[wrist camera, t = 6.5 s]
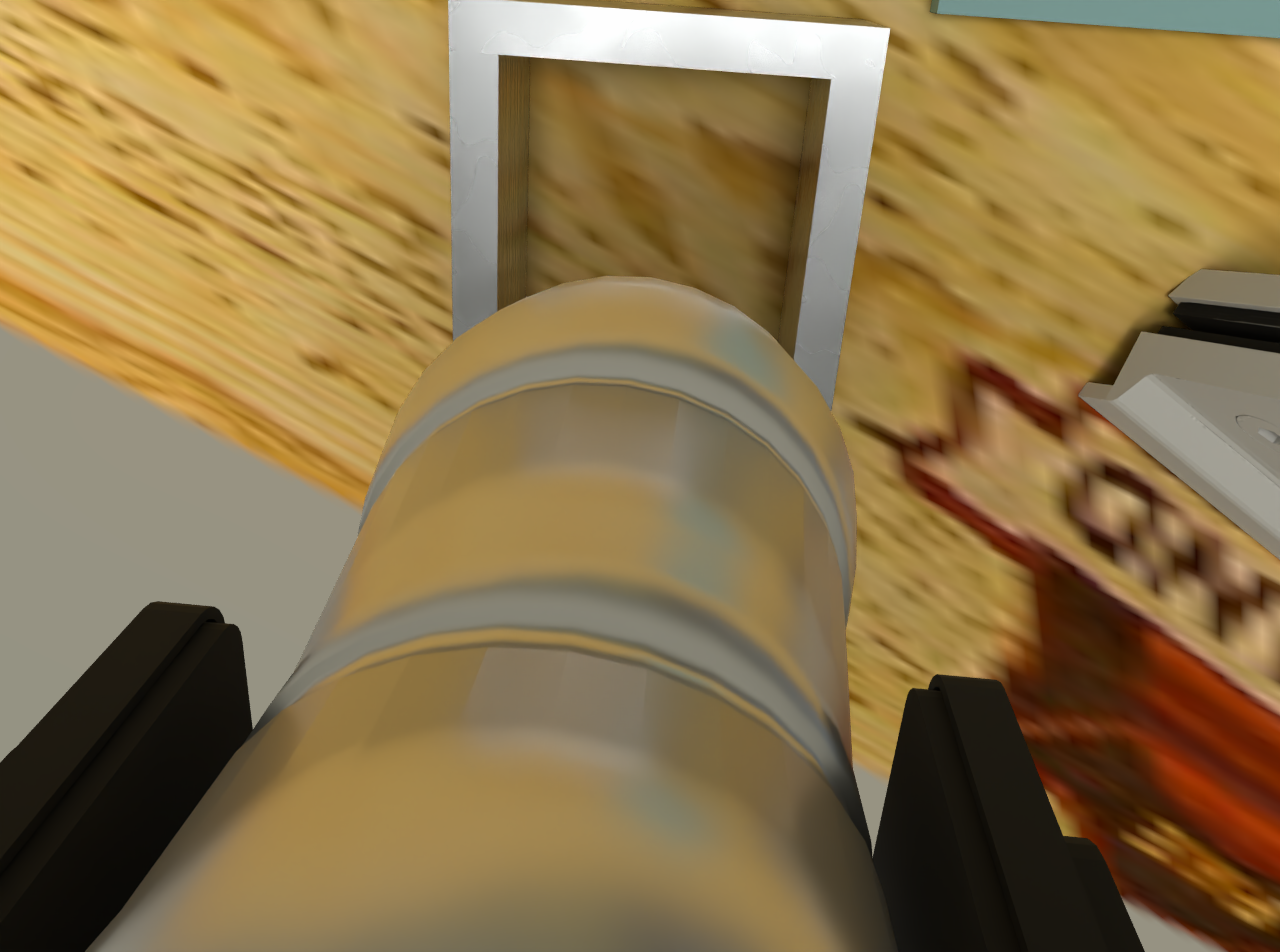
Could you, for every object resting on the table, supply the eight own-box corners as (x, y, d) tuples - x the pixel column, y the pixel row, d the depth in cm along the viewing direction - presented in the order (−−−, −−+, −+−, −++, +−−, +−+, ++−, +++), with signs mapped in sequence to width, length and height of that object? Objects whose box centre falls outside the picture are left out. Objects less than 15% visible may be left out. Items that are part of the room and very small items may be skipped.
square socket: (807, 402, 34) (822, 468, 30) (487, 376, 34) (454, 437, 30) (862, 19, 29) (890, 28, 25) (488, -8, 29) (448, -4, 25)
